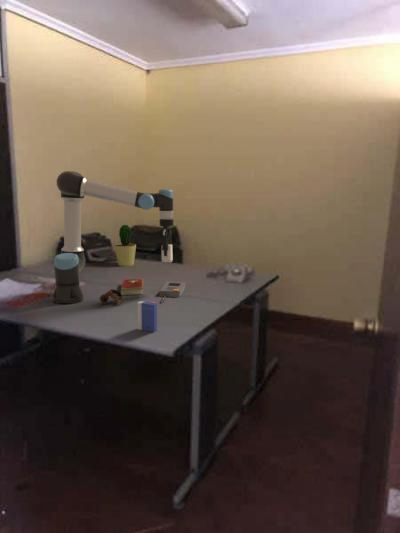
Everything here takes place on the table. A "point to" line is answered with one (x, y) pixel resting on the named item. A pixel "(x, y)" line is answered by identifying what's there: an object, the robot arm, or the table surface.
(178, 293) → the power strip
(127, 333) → the table surface
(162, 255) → the charger brick
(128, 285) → the hardcover book
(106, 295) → the brown arched piece
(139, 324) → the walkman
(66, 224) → the robot arm
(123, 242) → the potted cactus
